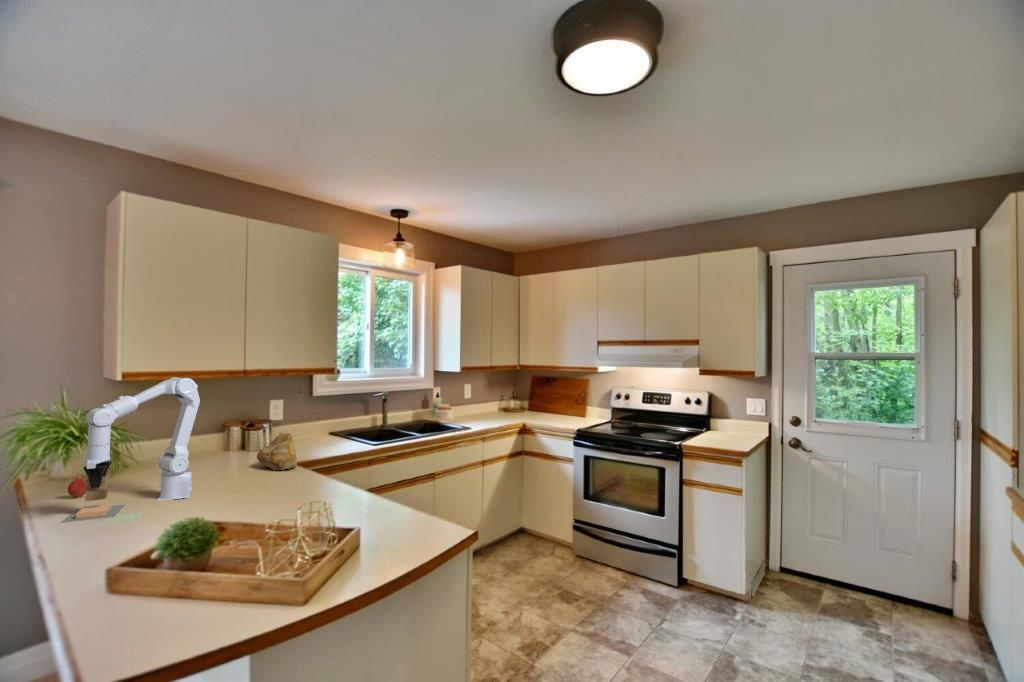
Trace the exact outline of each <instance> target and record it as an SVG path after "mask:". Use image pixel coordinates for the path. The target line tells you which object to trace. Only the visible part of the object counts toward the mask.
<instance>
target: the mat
mask: <svg viewBox="0 0 1024 682" xmlns="http://www.w3.org/2000/svg"><path fill="white" fill-rule="evenodd" d="M126 505H127V504H117V505H112V509H111V510H110V511H109V512H107V513H106V514H105V515H104V516H98V517H88V518H79V519H76V513H77V512H79V511H80V510H81V509H82V508H77V509H76V510H74V511H73V512H72V513H70V515H67V517H66V518H64V519H63V520H61V522H60V523H71V522H79V521H87V520H98V519H107V518H108V519H110V518H112V517H114V515H118V514H119V512H120V511H122V509H123V508H124V507H125V506H126Z"/></svg>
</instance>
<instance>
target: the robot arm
mask: <svg viewBox="0 0 1024 682" xmlns="http://www.w3.org/2000/svg"><path fill="white" fill-rule="evenodd" d="M198 387H199V385H198V384H197V383H196V382H195V381H194V380H193V379H192V378H189V377H184V378H183V377H178V376H177V377H176V376H175V377H171V378H170V379H166V380H164V381H161V382H159V383H157V384H155V385H153V386H152V387H150V388H147V389H146V390H143V391H141V392H139V393H138V394H135V395H134V396H130V395H125V396H124V395H120V396H118V397H117V399H115V400H114V401H111V402H109V403H104V404H101V407H97V408H92V409H91V410H90V411H88V413H87V415H86V416H85V422H86V423H87V424H88V429H87V430H88V431H87V447H86V458H83V459H81V462H83V463H84V462H85V463H86V465H85V466H84V467H83V471H84V472H85V474H86V476H87V478H89V482H90V486H91V488H97V487H100V485H101V481H102V476H107V473H108V470H109V468H110V467H111V465H112V461H110V460H111V439H112V438H111V437H112V436H111V435H112V433H111V432H112V431H111V428H112V426H111V425H112V424H113V423H114V422H115V420H118V419H120V418H121V417H123V416H126V415H128V414H130V413H132V412H135V411H136V410H137V408H138V407H139V406H140V404H141V405H142V404H143V403H145V402H148V401H150V400H152V399H154V398H157V397H159V396H161V395H172V396H174V397H176V399H178V400H179V402H180V403H181V407H180V409H179V410H180V411H179V413H178V416H177V417H178V418H177V420H176V424H175V427H174V431H173V433H172V438H171V440H170V444H169V446H168V447H167V448H166V449H165V450H164V453H163V454H162V456H161V457H160V458H159V460H158V468H159V469H160V470H162V471H161V474H160V493H159V494H160V496H159V497H158V498H157V499H156V501H157V502H158V501H168V500H169V501H170V500H173V499H174V500H181V499H182V498H184V499H189V498H190V496H191V495H192V492H193V491H192V490H193V487H192V485H193V472H192V471H186V470H187V469H188V468H189V463H190V461H189V455H190V453H189V450H188V444H189V442H190V437H191V435H192V431H193V427H194V423H195V420H196V416H197V413H198V410H199V407H200V402H201V399H200V396H199V391H198Z"/></svg>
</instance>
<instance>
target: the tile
mask: <svg viewBox="0 0 1024 682" xmlns="http://www.w3.org/2000/svg"><path fill="white" fill-rule="evenodd" d="M112 506H113V503H105V504H95V505H86V506H85V505H84V506H83V507H82V508H80V509H81V510H80V511H79V512H77V513H76V519H79V518H88V517H98V516H104V515H105V514H106V513H107V512H109V511H110V510H111V509H112Z"/></svg>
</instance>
